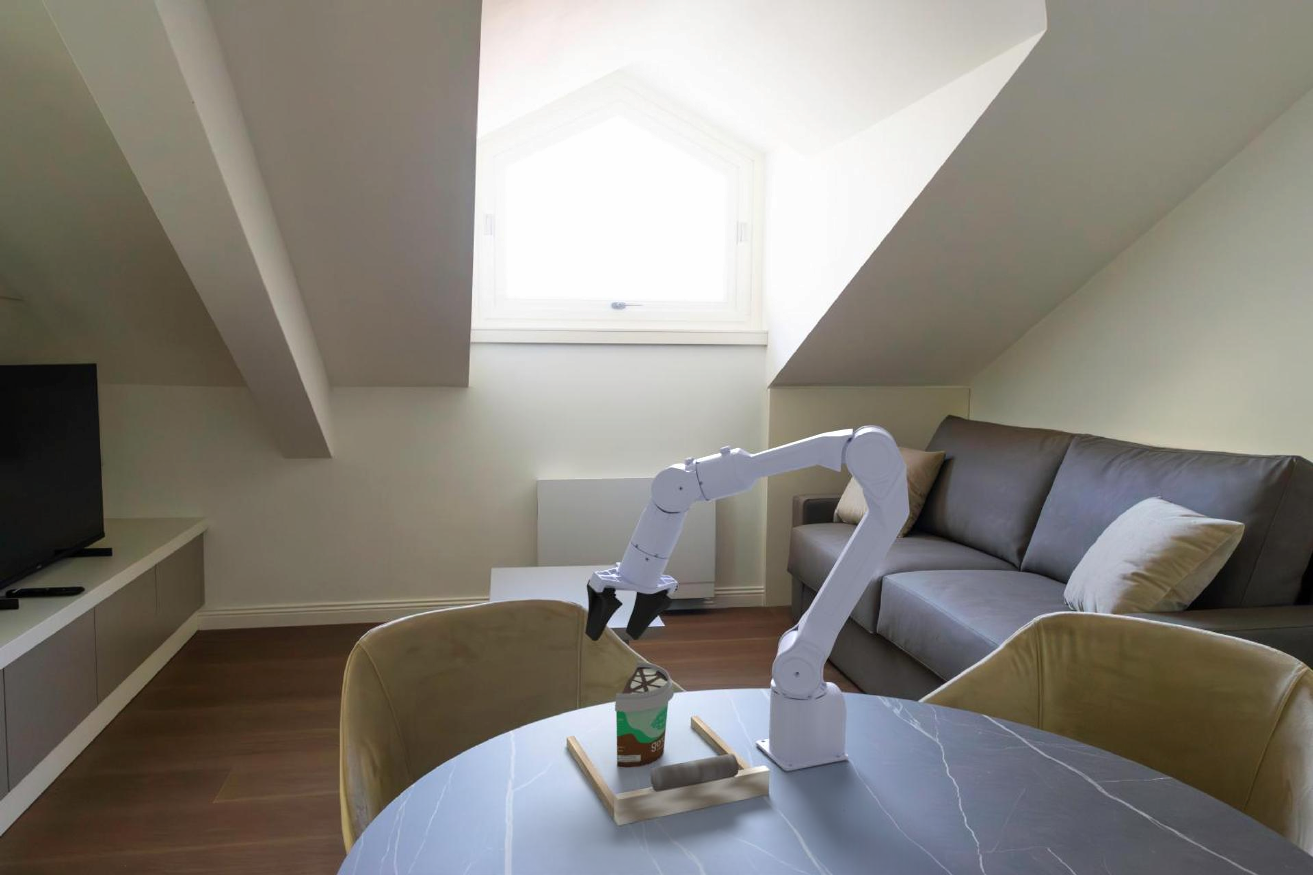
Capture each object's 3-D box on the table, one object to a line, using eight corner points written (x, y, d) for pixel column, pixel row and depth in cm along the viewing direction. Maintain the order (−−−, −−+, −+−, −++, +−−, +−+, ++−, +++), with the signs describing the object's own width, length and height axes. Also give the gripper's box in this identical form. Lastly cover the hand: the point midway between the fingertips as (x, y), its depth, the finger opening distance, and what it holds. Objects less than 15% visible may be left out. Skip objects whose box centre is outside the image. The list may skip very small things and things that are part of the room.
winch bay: (697, 723, 119) (697, 686, 118) (771, 796, 100) (772, 752, 99) (566, 745, 112) (566, 706, 111) (619, 828, 93) (620, 781, 92)
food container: (662, 778, 104) (664, 699, 103) (614, 772, 105) (615, 694, 104) (680, 734, 116) (681, 663, 115) (636, 729, 117) (637, 659, 116)
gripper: (668, 537, 120) (631, 620, 123) (593, 530, 110) (554, 620, 112) (700, 562, 116) (662, 647, 118) (625, 556, 105) (584, 650, 108)
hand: (611, 636), depth 115 cm, fingers open, 7 cm apart
